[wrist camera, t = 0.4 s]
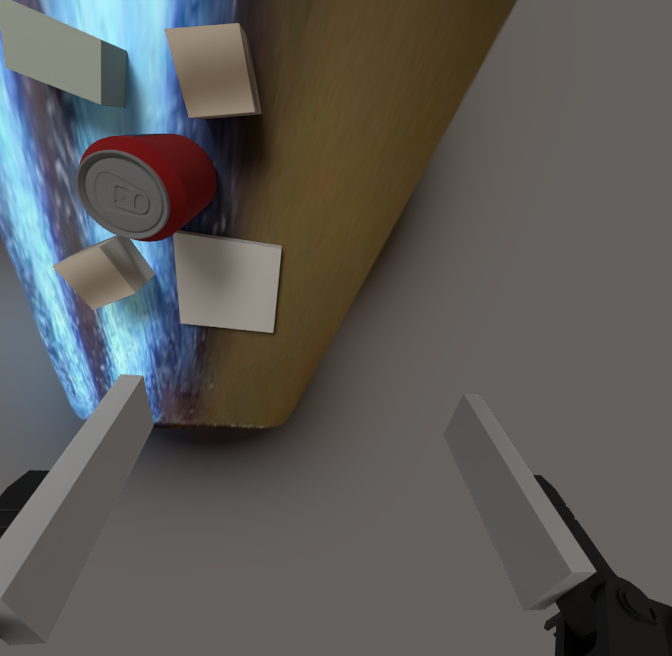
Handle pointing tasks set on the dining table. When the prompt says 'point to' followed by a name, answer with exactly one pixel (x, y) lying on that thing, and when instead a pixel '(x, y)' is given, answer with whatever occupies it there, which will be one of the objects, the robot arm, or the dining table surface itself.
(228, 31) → the beech block
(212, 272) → the plate
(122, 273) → the maple block
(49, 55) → the sage block
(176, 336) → the dining table surface
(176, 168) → the beverage can
